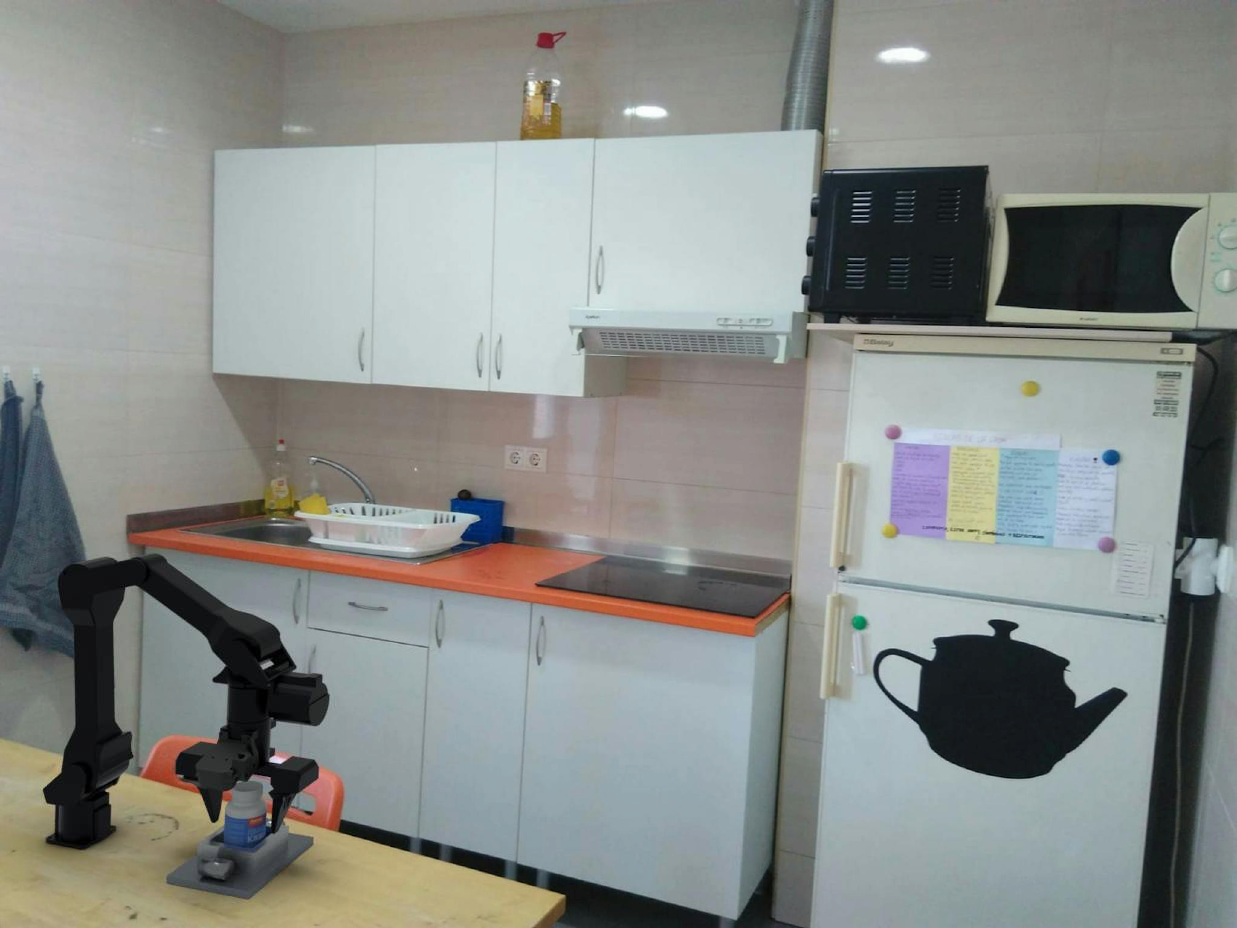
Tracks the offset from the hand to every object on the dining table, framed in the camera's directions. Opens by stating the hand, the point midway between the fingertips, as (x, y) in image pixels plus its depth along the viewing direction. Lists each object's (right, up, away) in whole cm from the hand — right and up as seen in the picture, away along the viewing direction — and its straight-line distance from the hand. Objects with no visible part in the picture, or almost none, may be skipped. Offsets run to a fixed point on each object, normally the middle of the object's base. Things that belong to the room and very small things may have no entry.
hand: (244, 827), depth 133 cm
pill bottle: (0, -4, 0) cm, 4 cm away
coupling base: (0, -5, 0) cm, 5 cm away
